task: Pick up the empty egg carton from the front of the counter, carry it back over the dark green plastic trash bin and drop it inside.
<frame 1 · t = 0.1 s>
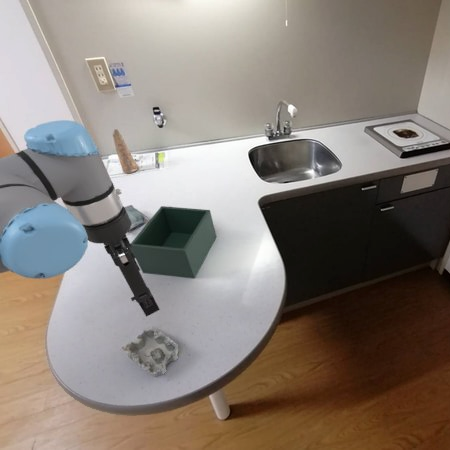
hand: (142, 290, 66), 13 cm above the worktop, tool pointing down, fingers open, 13 cm apart
egg carton: (156, 355, 69), on the worktop
packaged food: (129, 224, 104), on the worktop
trash bin: (182, 253, 93), on the worktop
brown tapered cone: (131, 170, 132), on the worktop
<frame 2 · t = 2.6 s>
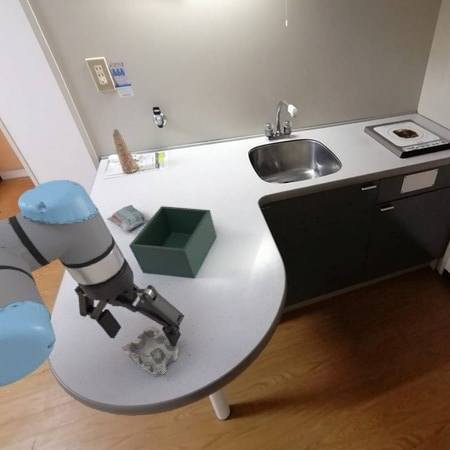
hand: (146, 336, 64), 7 cm above the worktop, tool pointing down, fingers open, 13 cm apart
nothing on the worktop moved.
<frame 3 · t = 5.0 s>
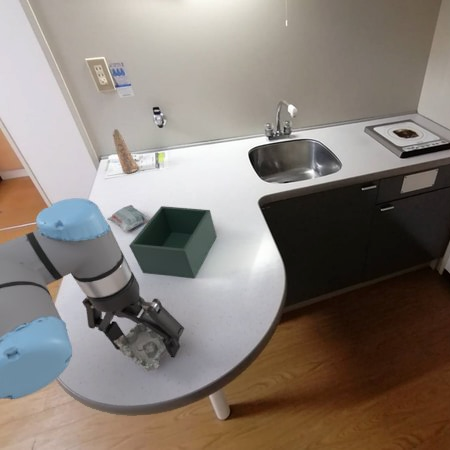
hand: (148, 347, 66), 4 cm above the worktop, tool pointing down, fingers closed on egg carton, 12 cm apart
egg carton: (148, 349, 66), point 3 cm above the worktop, touching gripper
everything else where it was.
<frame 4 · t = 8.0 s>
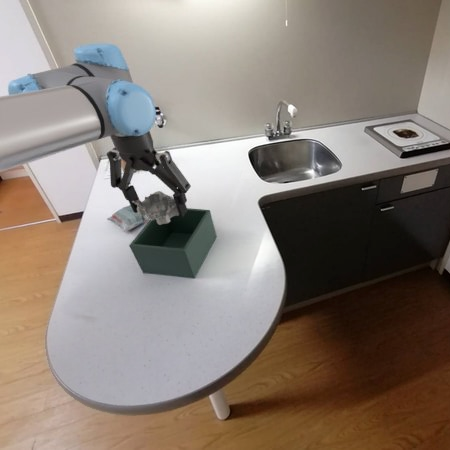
hand: (160, 211, 78), 19 cm above the worktop, tool pointing down, fingers closed on egg carton, 12 cm apart
egg carton: (161, 213, 78), point 19 cm above the worktop, touching gripper
everything else where it was.
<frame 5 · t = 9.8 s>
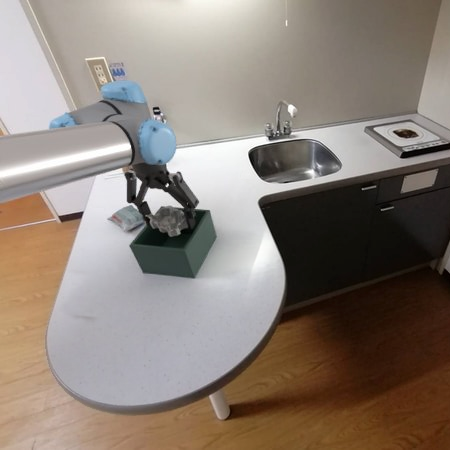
hand: (171, 224, 85), 12 cm above the worktop, tool pointing down, fingers closed on egg carton, 12 cm apart
egg carton: (171, 225, 86), point 11 cm above the worktop, touching gripper
everything else where it was.
when the fingers open (10 cm above the worktop, at t = 11.3 s): egg carton stays where it is, resting on trash bin.
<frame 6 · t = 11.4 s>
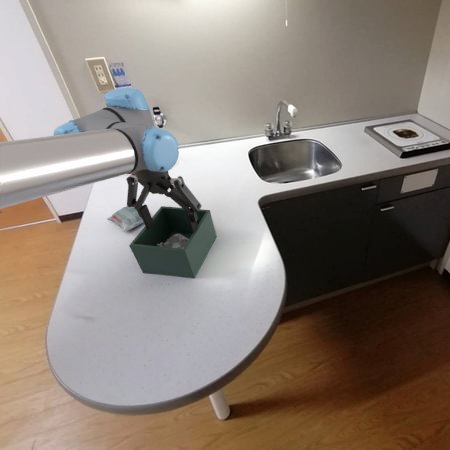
hand: (172, 228, 86), 10 cm above the worktop, tool pointing down, fingers open, 13 cm apart
egg carton: (180, 252, 92), point 1 cm above the worktop, touching trash bin
everything else where it was.
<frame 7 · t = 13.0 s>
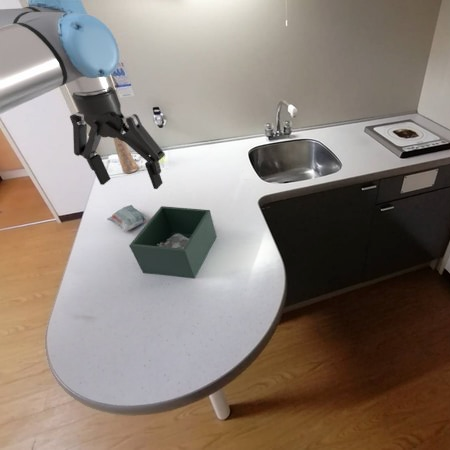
hand: (131, 184, 73), 27 cm above the worktop, tool pointing down, fingers open, 13 cm apart
nothing on the worktop moved.
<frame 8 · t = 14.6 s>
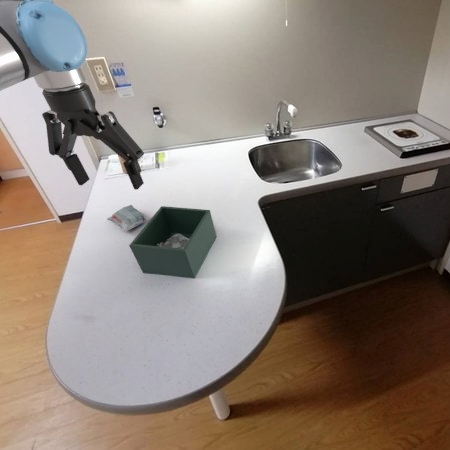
hand: (111, 184, 70), 29 cm above the worktop, tool pointing down, fingers open, 13 cm apart
nothing on the worktop moved.
at the end: egg carton inside the target area in the trash bin (0.3 cm from its centre), point 0.6 cm above the trash bin's base; the gripper is holding nothing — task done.
